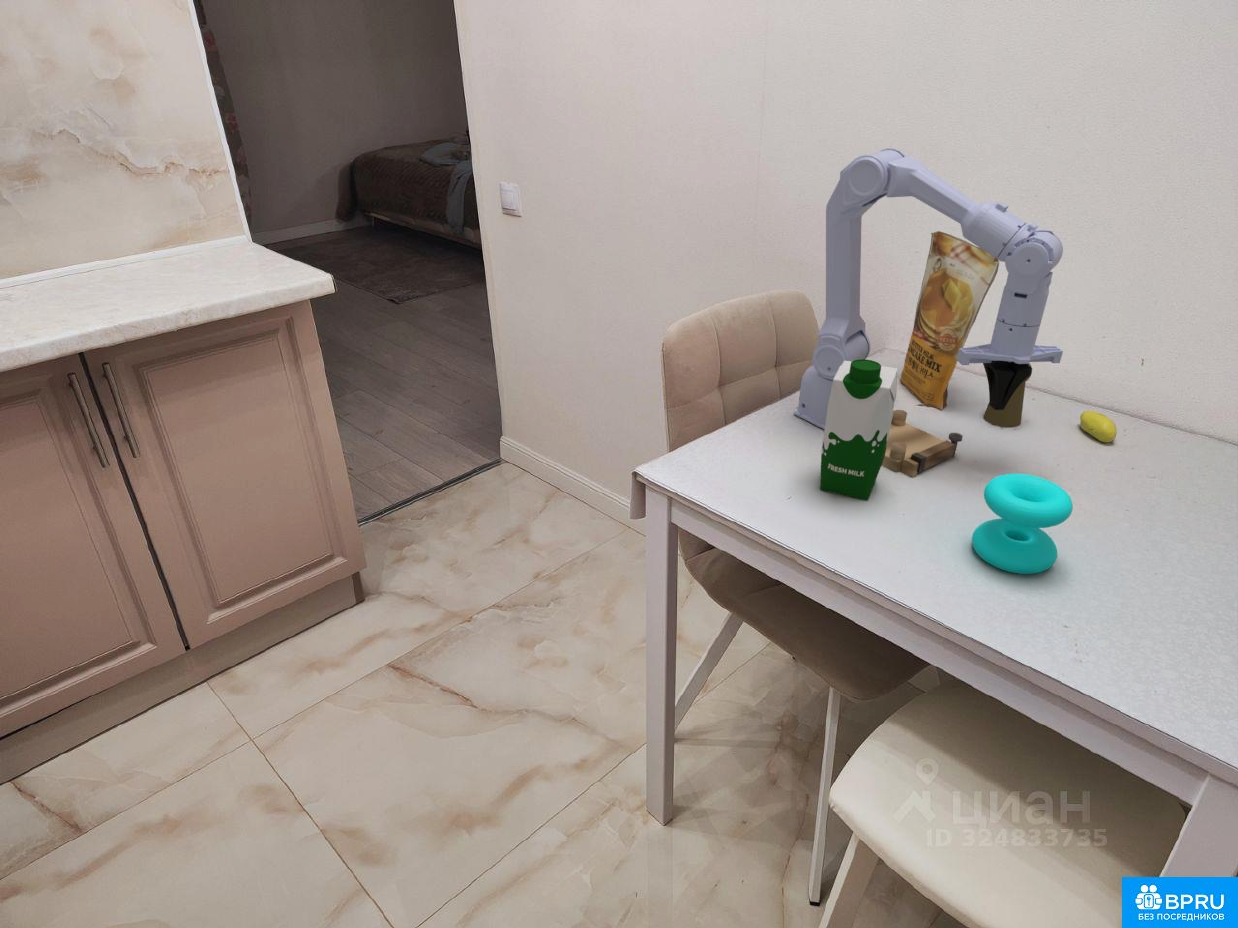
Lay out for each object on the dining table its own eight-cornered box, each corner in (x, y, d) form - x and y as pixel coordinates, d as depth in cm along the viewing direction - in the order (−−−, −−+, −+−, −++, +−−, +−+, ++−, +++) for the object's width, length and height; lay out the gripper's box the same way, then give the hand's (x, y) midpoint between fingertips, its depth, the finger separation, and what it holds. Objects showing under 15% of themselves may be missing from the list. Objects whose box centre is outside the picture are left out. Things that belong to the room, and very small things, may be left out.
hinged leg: (943, 452, 126) (946, 439, 125) (952, 457, 125) (956, 443, 123) (908, 468, 122) (911, 454, 120) (918, 472, 120) (921, 459, 119)
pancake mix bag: (921, 371, 156) (950, 228, 143) (968, 412, 140) (1006, 255, 126) (889, 373, 156) (914, 229, 142) (932, 414, 139) (966, 256, 126)
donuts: (1072, 519, 92) (980, 496, 96) (1049, 587, 96) (963, 563, 101) (1078, 481, 99) (993, 462, 103) (1056, 547, 104) (976, 526, 108)
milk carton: (812, 492, 116) (829, 365, 107) (825, 464, 123) (842, 344, 114) (873, 505, 113) (897, 376, 103) (883, 476, 120) (906, 353, 110)
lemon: (1094, 446, 129) (1101, 424, 127) (1070, 424, 136) (1077, 404, 134) (1120, 446, 129) (1127, 425, 127) (1095, 424, 136) (1101, 404, 134)
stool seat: (846, 446, 129) (849, 425, 127) (898, 427, 135) (902, 407, 133) (908, 478, 120) (913, 456, 118) (961, 456, 126) (966, 435, 124)
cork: (1024, 429, 134) (1041, 369, 129) (986, 426, 135) (1001, 366, 130) (1016, 414, 139) (1032, 355, 134) (980, 411, 140) (994, 353, 135)
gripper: (981, 330, 108) (960, 419, 115) (1084, 328, 109) (1057, 417, 115) (959, 314, 114) (940, 399, 121) (1056, 312, 115) (1033, 397, 121)
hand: (996, 407), depth 119 cm, fingers closed
